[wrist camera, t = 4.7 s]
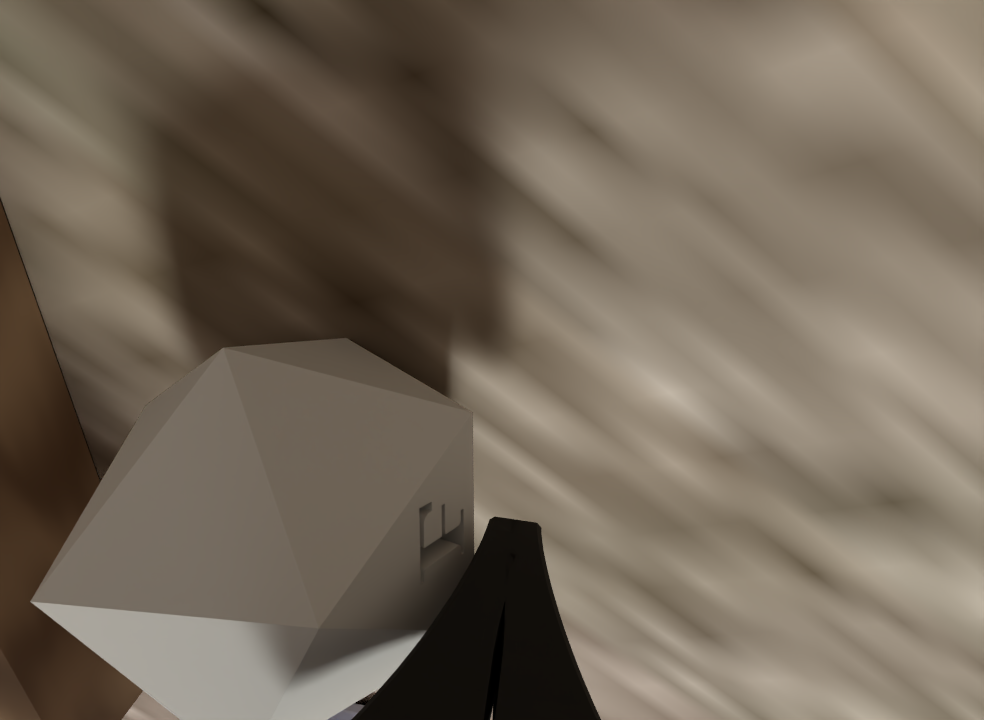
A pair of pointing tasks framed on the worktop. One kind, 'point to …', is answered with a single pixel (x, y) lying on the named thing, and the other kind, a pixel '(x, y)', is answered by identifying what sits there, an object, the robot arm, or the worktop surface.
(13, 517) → the brown wooden bar
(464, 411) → the die
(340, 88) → the worktop surface
